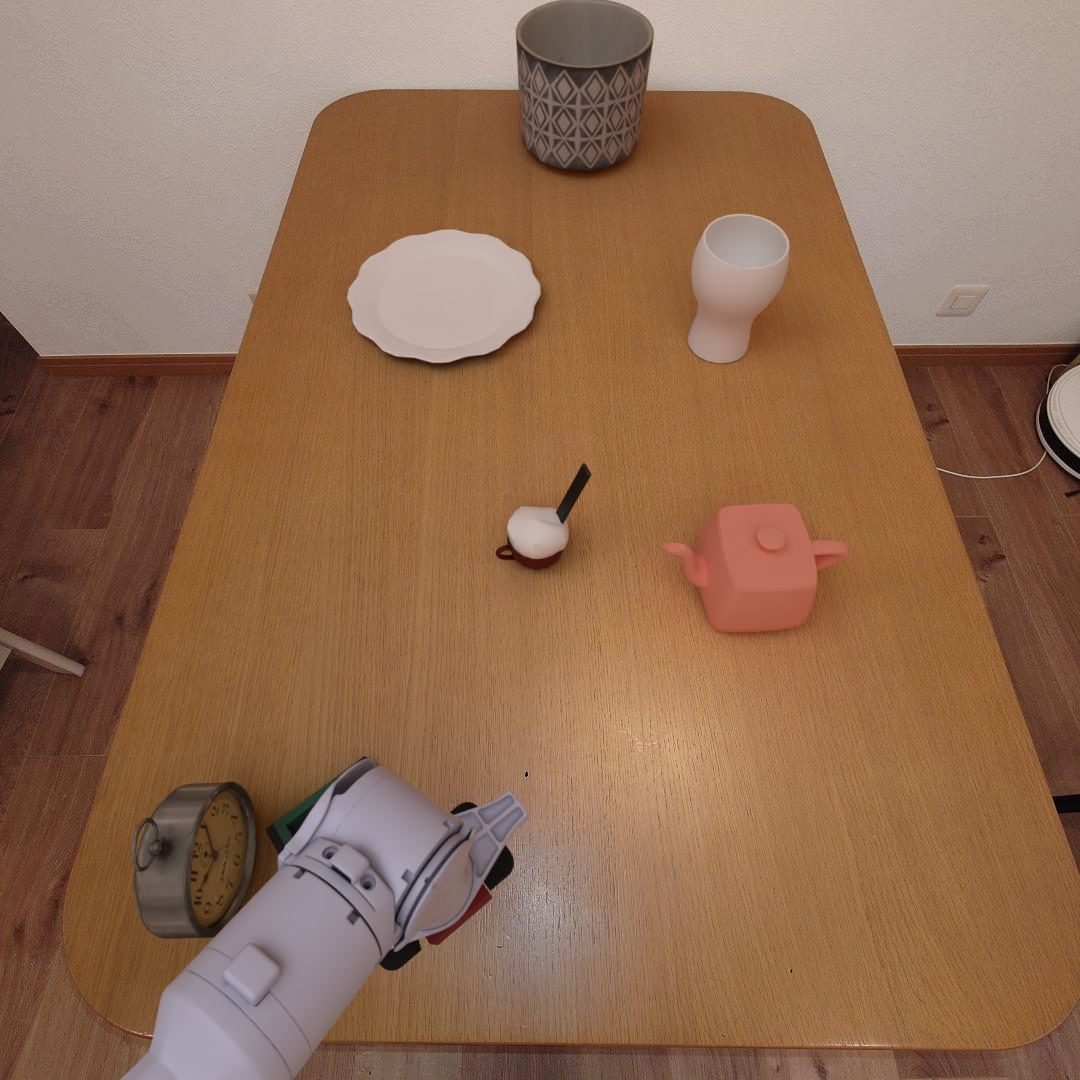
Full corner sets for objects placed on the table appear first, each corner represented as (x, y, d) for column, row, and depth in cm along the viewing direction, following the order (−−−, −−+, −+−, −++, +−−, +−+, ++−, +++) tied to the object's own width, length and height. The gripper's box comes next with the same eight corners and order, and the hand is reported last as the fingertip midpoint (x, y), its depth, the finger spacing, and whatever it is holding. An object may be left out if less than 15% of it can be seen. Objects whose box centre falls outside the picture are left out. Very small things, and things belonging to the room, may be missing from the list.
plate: (369, 390, 88) (365, 379, 86) (338, 260, 100) (335, 248, 98) (563, 347, 91) (563, 336, 90) (511, 227, 104) (510, 215, 102)
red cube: (437, 945, 52) (430, 945, 48) (400, 886, 54) (390, 880, 50) (493, 898, 53) (489, 893, 50) (454, 841, 55) (448, 833, 52)
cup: (663, 355, 91) (683, 254, 78) (693, 303, 95) (717, 200, 82) (743, 383, 88) (778, 284, 75) (770, 328, 93) (807, 226, 80)
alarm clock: (247, 939, 58) (152, 933, 44) (180, 941, 58) (65, 935, 44) (270, 798, 64) (193, 753, 50) (209, 799, 63) (115, 755, 49)
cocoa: (497, 579, 75) (490, 517, 64) (497, 527, 78) (490, 461, 67) (588, 576, 75) (595, 514, 64) (584, 525, 78) (590, 458, 68)
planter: (652, 124, 117) (667, 8, 103) (622, 193, 107) (635, 76, 93) (540, 104, 120) (540, -11, 106) (502, 170, 111) (496, 53, 96)
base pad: (321, 923, 59) (312, 921, 56) (269, 831, 62) (258, 826, 60) (422, 841, 62) (418, 836, 59) (367, 758, 65) (361, 751, 63)
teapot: (836, 634, 71) (879, 588, 62) (657, 644, 71) (673, 598, 62) (808, 536, 77) (843, 480, 68) (642, 544, 77) (655, 489, 68)
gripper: (478, 735, 44) (491, 781, 56) (267, 897, 40) (330, 911, 52) (549, 830, 42) (548, 858, 53) (331, 1016, 37) (382, 1002, 49)
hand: (444, 890), depth 52 cm, fingers closed on red cube, 5 cm apart
